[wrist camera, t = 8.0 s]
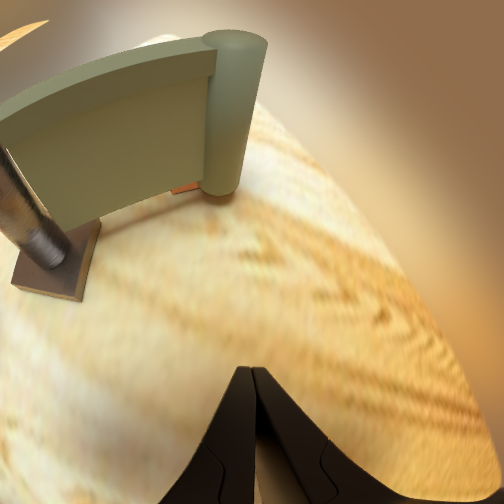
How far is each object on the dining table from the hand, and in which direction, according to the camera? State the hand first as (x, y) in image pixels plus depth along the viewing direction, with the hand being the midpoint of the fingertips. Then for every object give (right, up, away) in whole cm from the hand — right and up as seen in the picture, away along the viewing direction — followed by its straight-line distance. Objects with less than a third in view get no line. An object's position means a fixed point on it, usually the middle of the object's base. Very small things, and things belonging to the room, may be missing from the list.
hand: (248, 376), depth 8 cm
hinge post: (-14, +4, +9) cm, 17 cm away
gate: (-6, +7, +10) cm, 14 cm away
